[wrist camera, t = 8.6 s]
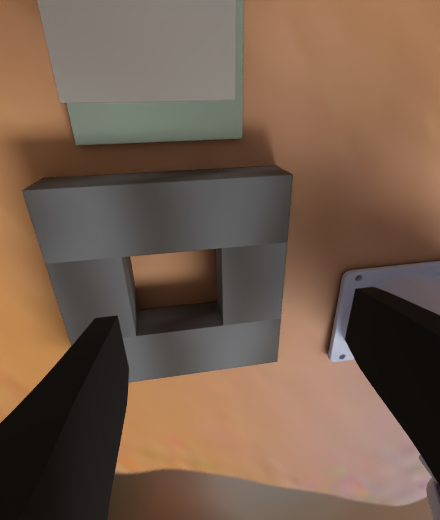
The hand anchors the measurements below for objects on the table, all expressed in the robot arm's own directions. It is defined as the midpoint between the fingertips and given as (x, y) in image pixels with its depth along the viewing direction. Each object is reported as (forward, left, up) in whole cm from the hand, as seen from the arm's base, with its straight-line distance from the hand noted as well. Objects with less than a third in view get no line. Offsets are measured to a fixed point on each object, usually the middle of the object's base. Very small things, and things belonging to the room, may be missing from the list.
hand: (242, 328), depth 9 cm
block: (+2, -8, -9) cm, 12 cm away
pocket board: (+2, +3, -9) cm, 10 cm away
